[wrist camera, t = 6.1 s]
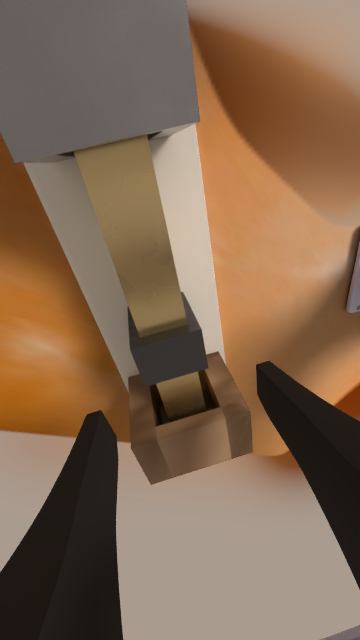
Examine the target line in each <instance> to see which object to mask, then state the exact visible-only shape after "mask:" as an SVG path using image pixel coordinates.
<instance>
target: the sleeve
mask: <svg viewBox="0 0 360 640" xmlns="http://www.w3.org/2000/svg"><path fill="white" fill-rule="evenodd" d="M199 121H200V116H199V107H198V99H197V90H196V82H195V73H194V65H193V56H192V48H191V39H190V31H189V22H188V14H187V5H186V0H0V133H1V135H2V137H3V139H4V141H5V144H6V146H7V148H8V150H9V152H10V154H11V156H12V158H13V160H14V163H54V162H58V161H62V160H67V159H71V158H75V155H74V152H73V151H76V150H81V149H85V148H90V147H94V146H98V145H103V144H107V143H112V142H116V141H120V140H125V139H129V138H133V137H138V136H142V135H147V137H148V141H150V140H154V139H158V138H163V137H167V136H171V135H173V134H175V133H177V132H179V131H181V130H183V129H185V128H187V127H189V126H191V125H193V124H195V123H197V122H199Z"/></svg>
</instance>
